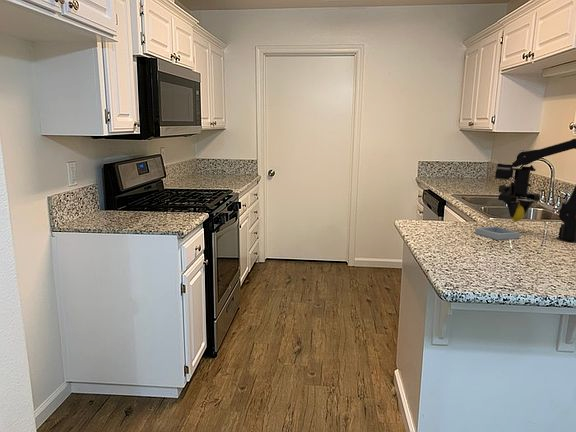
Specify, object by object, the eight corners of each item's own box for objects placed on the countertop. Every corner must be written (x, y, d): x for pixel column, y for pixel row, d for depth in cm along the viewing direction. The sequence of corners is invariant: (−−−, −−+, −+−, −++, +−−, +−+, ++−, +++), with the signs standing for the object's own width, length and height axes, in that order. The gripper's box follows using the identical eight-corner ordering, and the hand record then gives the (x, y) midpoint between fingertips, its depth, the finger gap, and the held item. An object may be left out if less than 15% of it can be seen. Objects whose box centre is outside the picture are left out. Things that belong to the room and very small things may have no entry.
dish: (519, 238, 184) (519, 232, 184) (497, 240, 180) (498, 234, 179) (495, 232, 195) (496, 226, 195) (474, 233, 190) (475, 228, 190)
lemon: (524, 223, 190) (527, 205, 189) (510, 222, 191) (513, 204, 190) (520, 221, 196) (523, 203, 194) (507, 220, 197) (509, 202, 195)
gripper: (520, 178, 201) (515, 212, 204) (490, 179, 194) (485, 214, 197) (543, 181, 191) (537, 217, 194) (511, 182, 184) (506, 219, 187)
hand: (516, 216), depth 193 cm, fingers closed on lemon, 5 cm apart
